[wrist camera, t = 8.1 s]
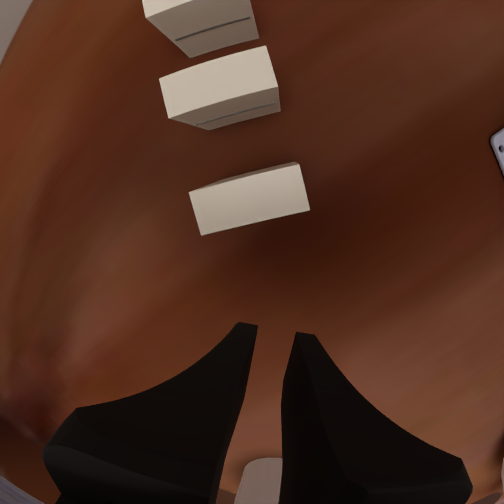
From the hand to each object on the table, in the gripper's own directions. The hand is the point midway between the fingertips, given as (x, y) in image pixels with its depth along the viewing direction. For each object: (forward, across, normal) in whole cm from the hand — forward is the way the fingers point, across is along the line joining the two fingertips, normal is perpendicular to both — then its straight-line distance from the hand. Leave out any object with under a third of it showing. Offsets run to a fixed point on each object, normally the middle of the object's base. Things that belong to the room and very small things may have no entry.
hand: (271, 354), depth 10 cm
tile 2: (+10, +4, -9) cm, 14 cm away
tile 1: (+10, +6, -13) cm, 18 cm away
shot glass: (+11, -4, +22) cm, 25 cm away
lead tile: (+10, +2, -4) cm, 11 cm away
